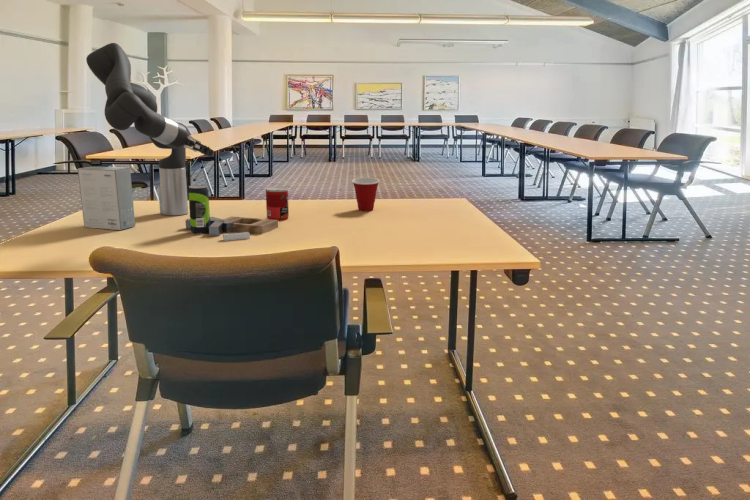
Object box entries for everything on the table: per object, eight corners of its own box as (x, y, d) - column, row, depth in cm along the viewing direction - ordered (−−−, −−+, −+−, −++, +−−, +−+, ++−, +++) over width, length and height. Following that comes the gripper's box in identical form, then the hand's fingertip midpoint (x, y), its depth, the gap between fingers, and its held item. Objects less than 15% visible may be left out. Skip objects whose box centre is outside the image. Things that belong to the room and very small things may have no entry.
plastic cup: (348, 211, 243) (348, 180, 240) (355, 206, 253) (355, 177, 250) (376, 213, 241) (376, 181, 238) (382, 208, 251) (382, 178, 248)
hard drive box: (136, 226, 213) (131, 167, 208) (120, 231, 206) (115, 170, 201) (99, 223, 218) (93, 165, 213) (82, 227, 211) (76, 167, 206)
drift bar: (247, 238, 199) (247, 231, 199) (249, 239, 197) (249, 233, 197) (222, 240, 195) (222, 234, 195) (224, 242, 194) (224, 235, 193)
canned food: (284, 221, 224) (283, 190, 222) (263, 220, 226) (262, 189, 223) (291, 217, 231) (291, 187, 229) (271, 216, 233) (270, 186, 230)
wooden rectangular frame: (214, 229, 209) (213, 222, 209) (231, 223, 219) (231, 216, 219) (262, 233, 204) (262, 226, 203) (278, 227, 214) (277, 220, 213)
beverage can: (214, 231, 207) (212, 185, 204) (202, 234, 202) (199, 188, 198) (199, 229, 210) (196, 184, 206) (186, 232, 204) (183, 186, 201)
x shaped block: (213, 237, 199) (212, 227, 198) (182, 228, 211) (182, 219, 210) (239, 232, 206) (239, 223, 205) (208, 224, 218) (208, 215, 217)
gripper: (189, 128, 181) (223, 145, 196) (156, 112, 187) (192, 130, 202) (178, 151, 181) (213, 167, 196) (145, 135, 187) (181, 151, 202)
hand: (202, 148), depth 199 cm, fingers open, 8 cm apart
